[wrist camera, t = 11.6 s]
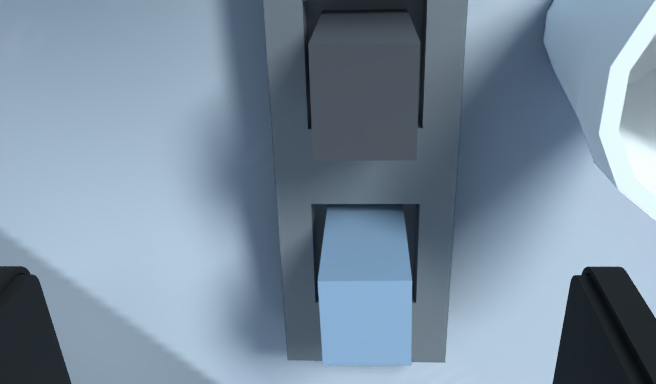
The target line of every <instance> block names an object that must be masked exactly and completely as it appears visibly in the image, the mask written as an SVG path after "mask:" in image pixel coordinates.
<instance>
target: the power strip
mask: <svg viewBox="0 0 656 384" xmlns="http://www.w3.org/2000/svg"><path fill="white" fill-rule="evenodd" d="M467 7H468V0H263V9H264V23H265V38H266V52H267V67H268V82H269V96H270V111H271V125H272V140H273V154H274V169H275V183H276V198H277V212H278V227H279V241H280V256H281V271H282V285H283V300H284V314H285V329H286V343H287V358H288V360H314V361H323V359H322V343H321V327H320V311H319V295H318V275H319V267H320V260H321V252H322V244H323V237H324V229H325V221H326V214H327V206H328V204H403V210H404V218H405V226H406V234H407V242H408V251H409V259H410V267H411V275H412V342H411V362H445V354H446V339H447V323H448V307H449V291H450V275H451V260H452V244H453V228H454V212H455V196H456V180H457V165H458V149H459V133H460V117H461V101H462V86H463V70H464V54H465V38H466V22H467Z"/></svg>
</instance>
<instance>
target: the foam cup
mask: <svg viewBox="0 0 656 384" xmlns="http://www.w3.org/2000/svg"><path fill="white" fill-rule="evenodd" d="M543 42H544V45H545V47H546V50H547V53H548V56H549V59H550V61H551V64H552V67H553V69H554V71H555V73H556V75H557V77H558V79H559V81H560V83H561V85H562V87H563V89H564V91H565V93H566V95H567V97H568V99H569V101H570V103H571V105H572V107H573V109H574V111H575V113H576V115H577V117H578V119H579V122H580V124H581V127H582V130H583V133H584V136H585V138H586V141H587V144H588V147H589V150H590V153H591V155H592V158H593V161H594V163H595V164H596V165H597V166H598V168H599V169H600V170H601V171H602V172H603V173H604V174H605V175H606V177H607V178H608V179H609V180H610V181H611V182H612V183H613V184H614V186H615V187H616V188H617V189H618V190H619V191H620V192H622V193H623V194H624V195H625V196H626V197H628V198H629V199H630V200H631V201H632V202H634V203H635V204H636V205H637V206H638V207H640V208H641V209H642V210H643V211H645V212H646V213H647V214H648V215H649V216H651V217H652V218H653V219H654V220H655V221H656V0H554V1H553V3H552V4H551V6H550V8H549V9H548V11H547V15H546V23H545V31H544V39H543Z"/></svg>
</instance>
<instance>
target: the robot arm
mask: <svg viewBox="0 0 656 384" xmlns="http://www.w3.org/2000/svg"><path fill="white" fill-rule="evenodd" d="M0 384H71V381H70V377H69V374H68V371H67V368H66V365H65V362H64V358H63V356H62V352H61V349H60V346H59V342H58V339H57V336H56V333H55V330H54V327H53V323H52V320H51V317H50V314H49V311H48V307H47V304H46V301H45V298H44V295H43V291H42V288H41V285H40V282H39V280H38V278H37V277H36V276H35V275H31V274H30V272H29V271H28V270H27V269H26V268H24V267H22V266H19V267H18V266H12V267H11V266H10V267H9V266H8V267H7V266H3V267H1V266H0ZM553 384H656V318H655V317H654V315H653V313H652V312H651V310H650V309H649V307H648V305H647V304H646V302H645V301H644V299H643V298H642V296H641V294H640V293H639V291H638V290H637V288H636V286H635V285H634V283H633V282H632V280H631V278H630V277H629V275H628V274H627V272H626V271H625V270H624V269H623V268H622V267H586V268H584V270H583V272H582V275H575V276H573V277H572V279H571V283H570V288H569V294H568V300H567V305H566V311H565V317H564V322H563V328H562V334H561V340H560V345H559V351H558V357H557V362H556V368H555V374H554V379H553Z"/></svg>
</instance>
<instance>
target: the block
mask: <svg viewBox="0 0 656 384" xmlns="http://www.w3.org/2000/svg"><path fill="white" fill-rule="evenodd" d="M318 295H319V311H320V327H321V343H322V359H323V365H411V342H412V275H411V267H410V259H409V251H408V242H407V234H406V226H405V218H404V210H403V204H328V206H327V214H326V221H325V229H324V237H323V244H322V252H321V260H320V267H319V275H318Z"/></svg>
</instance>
